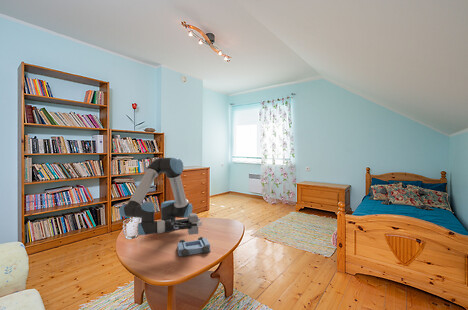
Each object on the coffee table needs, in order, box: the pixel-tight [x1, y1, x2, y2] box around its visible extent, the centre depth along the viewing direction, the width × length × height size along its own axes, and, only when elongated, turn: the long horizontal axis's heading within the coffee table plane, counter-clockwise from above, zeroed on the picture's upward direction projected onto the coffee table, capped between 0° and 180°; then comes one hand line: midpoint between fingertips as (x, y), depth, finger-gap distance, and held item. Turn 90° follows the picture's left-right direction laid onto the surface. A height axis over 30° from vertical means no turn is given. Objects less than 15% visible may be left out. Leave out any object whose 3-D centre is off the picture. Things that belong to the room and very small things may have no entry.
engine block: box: [187, 212, 199, 236], centre depth 140 cm, size 6×6×12 cm
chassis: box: [176, 236, 211, 258], centre depth 140 cm, size 16×20×4 cm
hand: (200, 221), depth 142 cm, fingers closed on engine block, 6 cm apart
